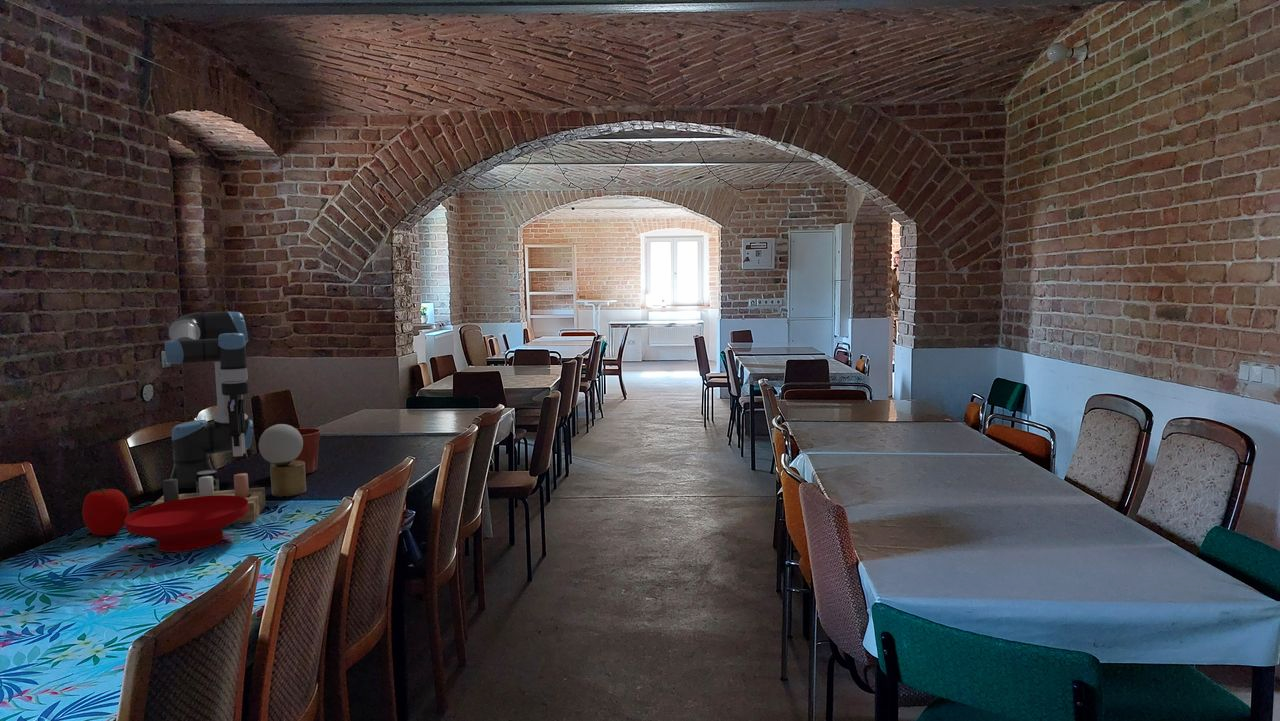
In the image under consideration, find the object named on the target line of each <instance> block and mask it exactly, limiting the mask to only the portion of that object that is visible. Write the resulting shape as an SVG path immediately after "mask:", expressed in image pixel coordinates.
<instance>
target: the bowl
mask: <svg viewBox="0 0 1280 721" xmlns="http://www.w3.org/2000/svg"><path fill="white" fill-rule="evenodd" d="M152 505H153V504H152ZM248 510H249V508H248V500H247V499H245V498H243V497H239V496H230V495H215V496H201V497H193V498H185V499H179V500H174V501H169V502H164V503H160V504H156V505H153V506H151V505H150V506H147V507H144V508H143V507H142V508H141V509H137V510H136V511H133V512H131V513H129V515H128V516H127V517H126V518H125V520H124V521H125V525H124V526H125V529H126V530H125V531H127V532H128V533H130V534H134V535H139V536H143V537H146V538H150V539H152V540H157V541H158V549H159V550H160V551H161V550H162V552H165V553H166V552H167V553H179V552H181V553H182V552H187V551H188V552H189V551H194V550H195V551H196V550H199V549H200V550H201V549H202V548H203V549H204V548H208V547H210V546H213V545H216V544H218V543H219V542H221V541H222V540H223V539H224V534H223V530H224V529H225V528H227V527H228V526H229V525H232V524H231V523H232V522H233V521H235V520H237V519H238V518H240V517H242V516H244V515H245V514H246V513H247V512H248Z"/></svg>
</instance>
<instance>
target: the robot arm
mask: <svg viewBox="0 0 1280 721" xmlns="http://www.w3.org/2000/svg"><path fill="white" fill-rule="evenodd" d="M248 336H249V335H248V331H247V324H246V321H245V318H244V315H243V313H241V312H239V311H228V310H227V311H207V312H198V311H197V312H191V313H187V314H185V315H183V316H180V317H178V318H176V319H175V320H174V321H173V322H172V323H171V324H170V326H169V329H168V337H169V338H170V340H166V341H165V342H164V354H165V355H164V356H165V362H166V363H167V364H168V365H181V364H182V365H183V364H197V363H198V364H199V363H214V372H215V389H216V406H217V408H216V409H217V414H216V415H215V416H214V417H213V422H210V423H208V421H207V420H206V419H197V420H191V421H187V422H183V423H179V424H177V425H175V426H173V427H172V429H171V441H172V457H173V459H172V460H173V467H172V471H171V475H170V478H169V479H177V480H178V489H193V488H196V476H197V472H200V471H205V470H214V468H213V465H212V464H211V460H210V455H214V454H215V455H216V454H225V453H226V454H227V453H232V457H233V458H234V457H243V456H244V454H246V451H247V450H249V449H250V448H251V447H252V446H251V445H252V441H253V433H254V432H253V426H254V423H253V420H252V419H249V416H248V414H246V413H245V399H243V395H247V394H248V393H249V382H248V380H249V374H248V366H247V349H246V348H247V347H246V345H247V343H248V342H249V338H248Z"/></svg>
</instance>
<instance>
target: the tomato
mask: <svg viewBox="0 0 1280 721" xmlns="http://www.w3.org/2000/svg"><path fill="white" fill-rule="evenodd" d="M81 510H82V511H81V513H82V514H81V515H82V519H83V522H84V525H85V527H86V528H87V529H88V531H89V532H90V533H91V534H93V535H96V536H101V537H105V536H106V537H107V536H113V535H115V534H117V533H119V531H121V530H122V529H123V528H124V526H125V521H124V520H125V518H126V517H127V516H128V515H130V506H129V501H128V498H127V497H126V496H125V494H124V493H123V492H122V491H120V490H119V489H115V488H104V487H100V489H95V490H93V491H90V493H87V495H86V496H85V498H84V499H83V503H82V509H81Z"/></svg>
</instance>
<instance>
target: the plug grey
mask: <svg viewBox="0 0 1280 721" xmlns="http://www.w3.org/2000/svg"><path fill="white" fill-rule="evenodd" d="M199 492H200V497H201V496H214V484H213V476H204V477H200V478H199Z"/></svg>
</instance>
